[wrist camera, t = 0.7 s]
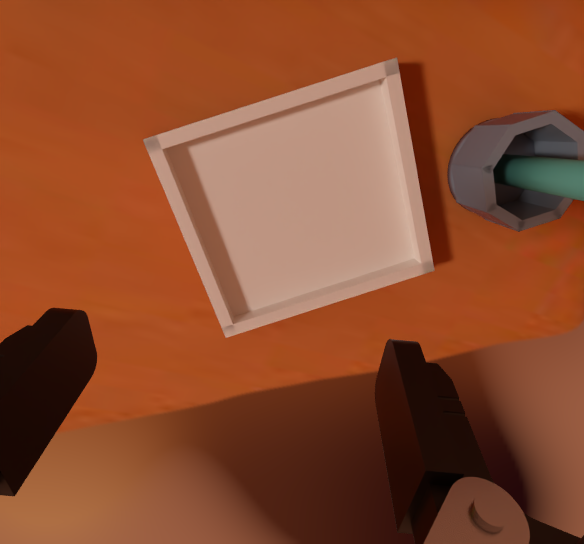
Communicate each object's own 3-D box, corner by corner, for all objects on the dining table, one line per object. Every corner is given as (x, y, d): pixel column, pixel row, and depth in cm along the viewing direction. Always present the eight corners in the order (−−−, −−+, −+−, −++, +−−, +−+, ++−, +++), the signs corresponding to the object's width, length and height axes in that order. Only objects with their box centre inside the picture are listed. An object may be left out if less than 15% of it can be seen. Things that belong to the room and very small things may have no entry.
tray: (151, 139, 30) (142, 139, 27) (385, 63, 30) (396, 57, 27) (227, 324, 36) (226, 337, 33) (422, 261, 36) (434, 270, 33)
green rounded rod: (483, 158, 32) (646, 176, 19) (511, 150, 32) (692, 161, 19) (486, 186, 33) (644, 222, 20) (513, 178, 33) (689, 207, 20)
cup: (440, 134, 32) (477, 135, 27) (533, 104, 32) (587, 99, 27) (454, 225, 35) (489, 241, 30) (539, 197, 35) (589, 209, 30)
